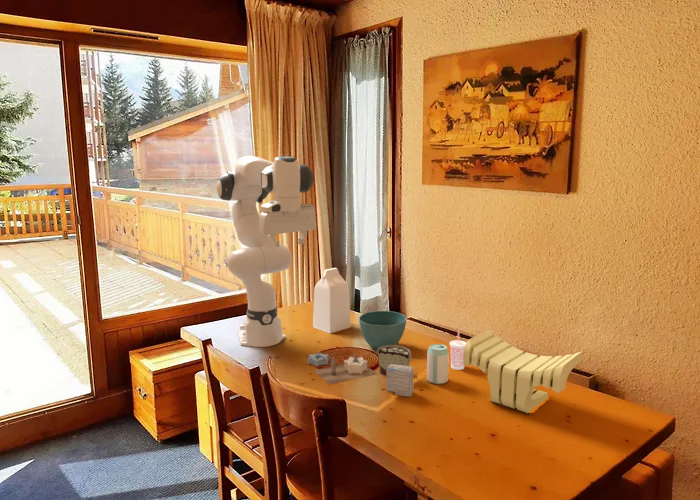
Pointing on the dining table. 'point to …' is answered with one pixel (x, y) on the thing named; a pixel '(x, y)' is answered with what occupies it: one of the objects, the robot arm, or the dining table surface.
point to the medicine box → (400, 380)
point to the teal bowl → (382, 328)
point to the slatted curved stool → (517, 371)
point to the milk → (331, 303)
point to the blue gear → (318, 359)
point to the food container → (393, 356)
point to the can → (437, 364)
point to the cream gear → (355, 365)
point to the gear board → (341, 373)
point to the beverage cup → (457, 353)
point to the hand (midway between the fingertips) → (288, 245)
